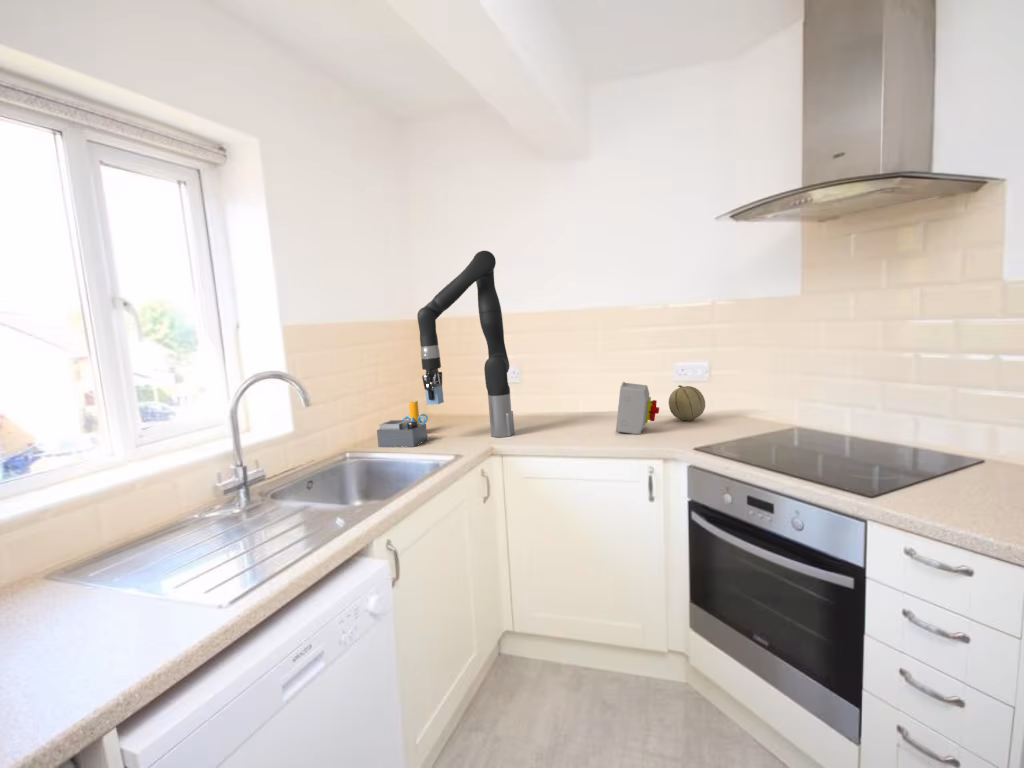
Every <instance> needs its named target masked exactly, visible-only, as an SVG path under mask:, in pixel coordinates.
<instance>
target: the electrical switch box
mask: <svg viewBox="0 0 1024 768" xmlns="http://www.w3.org/2000/svg"><path fill="white" fill-rule="evenodd" d="M651 399H652V397H651V396H650V392H649V387H648V385H646V384H639V383H633V382H632V383H630V382H625V381H622V383H621V385H620V389H619V398H618V405H617V406H618V407H617V417H616V425H615V432H618V433H624V434H633V435H641V433H642V432H643V430H644V427H645V425H647V424H648V421H650V422H655V420H656V414H657V415H658V414H659V413H660V407H659V406H657V402H658V401H657V399H653V400H651Z"/></svg>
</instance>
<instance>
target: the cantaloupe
mask: <svg viewBox="0 0 1024 768" xmlns="http://www.w3.org/2000/svg"><path fill="white" fill-rule="evenodd" d="M677 387H678V388H676V389H674V390H673V391H672V392H671V394H670V395H669V398H668V407H669V410H670V412H671V414H672V415H673V417H675V418H677V419H678V420H681V421H688V422H690V421H693V420H695V419H697V418H699V417H700V416H701V415H702V414H703V413H704V412H705V409H706V399H705V397H704V395H703V393H702V392H701V391H700V390H699V389H698V388H696V387H694V386H690V385H687V386H684V385H678V386H677Z"/></svg>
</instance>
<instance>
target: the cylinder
mask: <svg viewBox="0 0 1024 768" xmlns="http://www.w3.org/2000/svg"><path fill="white" fill-rule="evenodd" d="M418 402H419V401H418V400H409V401H408V410H409V411H408V412H409V414H407V415H405V416H404V417H402V419H401V420H410V421H417V424H427V422H428V421H429V420H428V419H429V418H428V415H427V414H426V413H422V414H420V413H419V412H420V411H419V410H420V409H419V403H418ZM422 420H423V421H422Z"/></svg>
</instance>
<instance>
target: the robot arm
mask: <svg viewBox="0 0 1024 768" xmlns="http://www.w3.org/2000/svg"><path fill="white" fill-rule="evenodd" d="M495 267H496V257H495V255H494V254H493V253H492V252H491V251H488V250H480V251H478V252H477V253H475V255H474V256H473V258H472V260H471V261H470V262H469V264H468V265H467V266H466V267H465V268H464V269H463V270H462V272H460V273H459V274H458V275H457V276H456V277H455V278H454V279H453V280H451V281H450V282H449V283H448V284H446V286H444V287H443V288H442V289H441V290H440V291H439V292H438V293H437V294H435V296H434V297H433V298H432V299H431V300H430V301H429V302H428V303H427V304H426V305H425V306H423V307H421V308H420V309H419V310H418V312H417V316H416V317H417V323H418V329H419V344H420V358H421V368H422V370H423V371H424V370H425V374H422V375H421V378H422V382H423V387H424V388H423V389H424V390H427V391H428V396H429V400H434V387H433V385H435V383H442V384H443V372H442V371H439V369H441V367H442V365H441V364H442V363H441V353H440V348H439V339H438V333H437V323H436V320H437V319H438V318H439V317H440V316H441V315H442V314H443V313H444V312H445V311H446V310H448V309H449V308H450V307H452V305H453V304H454V303H456V302H457V301H458V300H459V299H460V298H461V297H462V295H463V294H464V293H465V292H466V291H467V290H468V289H469V288H470V287H471V286H472V285H473V284H474V283H476V288H477V308H478V316H479V323H480V328H481V330H482V333H483V336H484V338H485V341H486V345H487V352H488V353H487V354H488V359H486V360H485V363H484V368H483V369H484V370H483V371H484V381H485V388H486V390H487V402H488V413H489V427H490V436H491V437H493V438H503V437H504V438H505V437H512V436H513V435H514V434H515V421H514V412H513V410H512V402H511V399H512V398H511V388H510V386H509V382H508V381H509V380H508V372H509V370H510V361H509V356H508V354H507V349H506V344H505V332H504V331H505V330H504V322H503V320H504V319H503V315H502V314H503V312H502V308H501V303H500V298H499V296H498V293H497V290H496V285H495ZM426 385H427V386H426Z"/></svg>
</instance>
